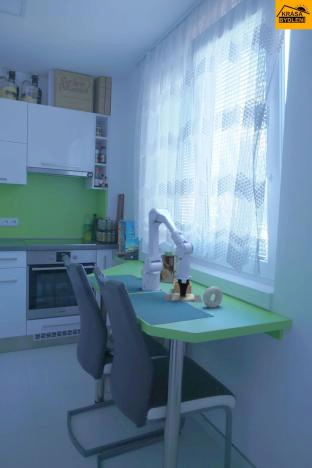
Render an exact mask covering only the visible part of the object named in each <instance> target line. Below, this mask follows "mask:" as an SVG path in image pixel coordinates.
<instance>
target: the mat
mask: <svg viewBox="0 0 312 468" xmlns="http://www.w3.org/2000/svg"><path fill="white" fill-rule="evenodd" d="M194 298H195V301H181V302H183V303H186V302H187V303H203V299H202V296H201V295H200V294H199V295H197V294H194ZM171 299H172V293H164V299H163V300H164V301H167V302H177V301H176V300H171Z"/></svg>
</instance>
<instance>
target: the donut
mask: <svg viewBox="0 0 312 468" xmlns="http://www.w3.org/2000/svg"><path fill="white" fill-rule="evenodd" d="M212 295H214V298H213V300H212ZM223 297H224V296H223V291H222V290H221V289H220V288H219V287H218V286H216V285H215V286H212V285H211V286H209V287H207V289H206V290H205V291H204V293H203V296H202V302H203V304H204V305H205V306H206V307H207V308H208V309H209V308H210V309H214V308H217V307H219V306H220V304H221V303H222V301H223Z"/></svg>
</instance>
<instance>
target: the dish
mask: <svg viewBox="0 0 312 468" xmlns="http://www.w3.org/2000/svg"><path fill="white" fill-rule="evenodd" d="M189 282H190V283H189V285H188V287H187V290H186V294H192V281H189ZM173 293H180V287H179V284H178V280H176V281H174V283H173Z"/></svg>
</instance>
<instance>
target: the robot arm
mask: <svg viewBox="0 0 312 468" xmlns="http://www.w3.org/2000/svg"><path fill="white" fill-rule="evenodd" d="M171 217H172V213H171V212H170V210H169V209H168V208H155V207H154V208H151V209H150V210H149V211H148V255H147V256H146V257H145V258H144V263H143V267H142V268H143V269H144V273H143V276H142V275H141V277H142V278H141V280H142V281H141V291H160V290H161V287H160V273H161V271H162V270H163V263H162V258H161V257H160V256H161V255H160V254H159V252H160V250H159V247H160V245H159V244H160V243H159V242H160V241H159V239H160V238H159V237H160V235H159V234H160V231H159V230H160V229H159V228H160V226H161V225H162V224H164V225H165V227H166V228H167V230H168V231H169V232H170V238H171V240H172V241H173V243H174V244H175V246H176V248H175V250H176V254H177V259H178V260H177V281H178V284H179V287H180V294H181V296H185V295H186V290H187V287H188V285H189V283H190V282H191V281H190V279H192V278H193V276H192V275H190V274H191V273H190V272H191V254H193V252H194V245H193V244H192V242H190V241H188V240H187V238H186V237H185V236H184V234H183V231H181V230H178V228H177V227H176V225H175V223H174V220H173V219H172V218H171Z"/></svg>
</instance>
